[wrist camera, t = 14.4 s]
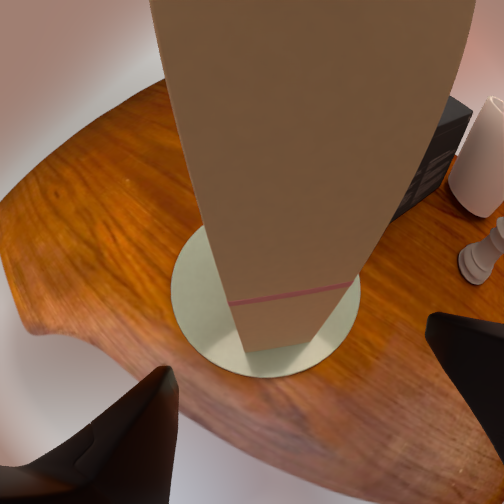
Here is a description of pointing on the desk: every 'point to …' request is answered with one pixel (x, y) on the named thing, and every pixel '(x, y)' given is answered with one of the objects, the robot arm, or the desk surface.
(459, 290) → the desk surface
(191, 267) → the plate
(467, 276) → the rook chess piece
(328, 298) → the pink-topped tan pillar
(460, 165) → the cup
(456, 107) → the box
